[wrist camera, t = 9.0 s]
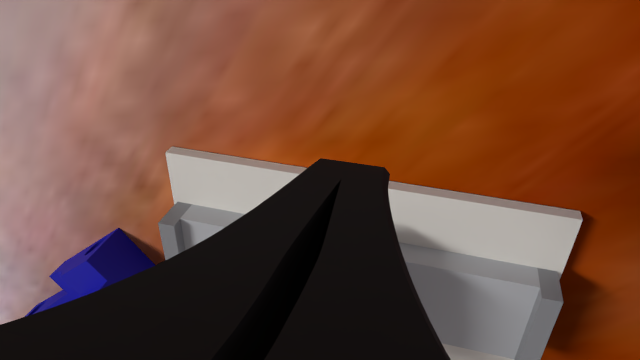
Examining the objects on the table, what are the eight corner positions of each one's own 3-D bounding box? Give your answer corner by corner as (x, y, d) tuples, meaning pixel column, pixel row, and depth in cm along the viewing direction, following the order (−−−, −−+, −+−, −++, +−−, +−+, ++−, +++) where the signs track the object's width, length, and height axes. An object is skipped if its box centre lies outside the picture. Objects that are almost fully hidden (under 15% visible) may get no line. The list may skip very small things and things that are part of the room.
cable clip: (120, 225, 28) (44, 303, 23) (175, 281, 29) (113, 365, 24) (21, 288, 34) (-56, 360, 29) (70, 331, 35) (4, 407, 30)
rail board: (580, 211, 20) (591, 249, 18) (520, 369, 25) (523, 412, 23) (172, 146, 23) (144, 172, 21) (196, 296, 29) (175, 327, 27)
